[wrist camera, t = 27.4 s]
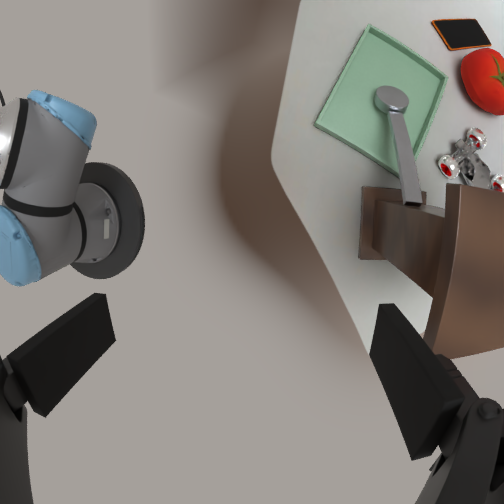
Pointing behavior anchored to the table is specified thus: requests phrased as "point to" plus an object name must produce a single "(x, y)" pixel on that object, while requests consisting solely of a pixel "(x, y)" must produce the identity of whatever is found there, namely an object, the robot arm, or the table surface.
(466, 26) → the smartphone
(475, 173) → the toy car
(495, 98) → the tomato
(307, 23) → the table surface
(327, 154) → the table surface
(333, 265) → the table surface
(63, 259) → the robot arm
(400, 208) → the wooden pedestal stand
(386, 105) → the measuring spoon
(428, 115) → the tray
